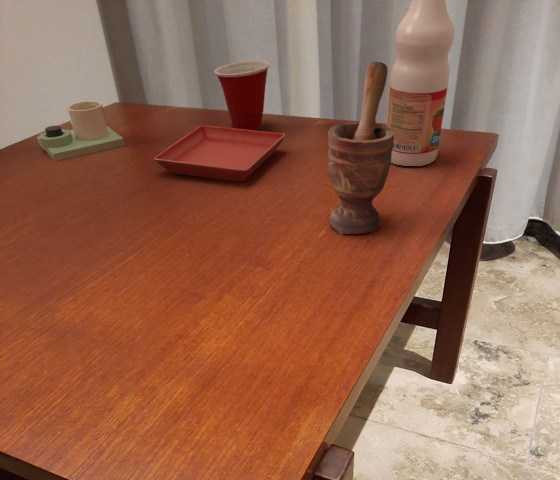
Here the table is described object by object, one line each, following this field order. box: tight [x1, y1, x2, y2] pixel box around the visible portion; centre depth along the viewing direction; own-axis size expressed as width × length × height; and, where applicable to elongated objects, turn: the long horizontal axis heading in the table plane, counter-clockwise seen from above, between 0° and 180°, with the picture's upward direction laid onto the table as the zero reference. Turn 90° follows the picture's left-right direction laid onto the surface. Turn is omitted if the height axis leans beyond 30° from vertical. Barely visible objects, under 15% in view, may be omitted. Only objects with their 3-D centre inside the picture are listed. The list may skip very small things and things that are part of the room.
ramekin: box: [66, 100, 108, 140], centre depth 110 cm, size 6×6×6 cm
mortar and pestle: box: [327, 61, 394, 235], centre depth 76 cm, size 12×9×20 cm
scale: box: [36, 125, 126, 162], centre depth 110 cm, size 14×12×3 cm
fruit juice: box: [385, 0, 455, 167], centre depth 90 cm, size 9×9×28 cm
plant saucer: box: [153, 125, 286, 183], centre depth 100 cm, size 18×18×3 cm
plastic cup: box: [214, 59, 270, 131], centre depth 111 cm, size 11×11×12 cm
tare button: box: [44, 125, 63, 137], centre depth 107 cm, size 3×3×2 cm
